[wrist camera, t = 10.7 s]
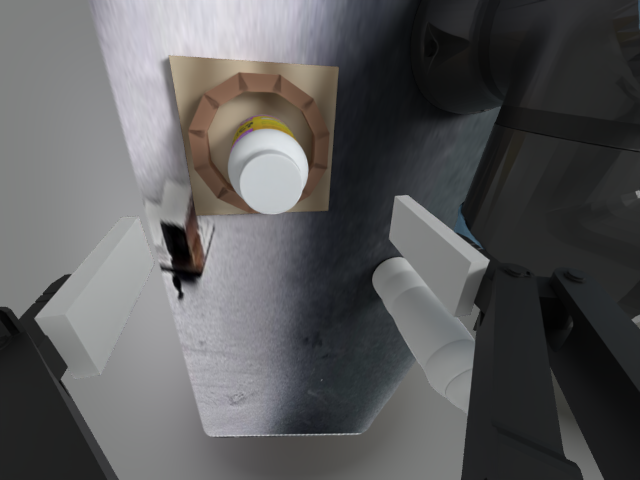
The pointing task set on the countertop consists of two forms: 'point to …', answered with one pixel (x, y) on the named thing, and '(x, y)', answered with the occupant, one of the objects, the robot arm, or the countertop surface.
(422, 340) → the water bottle
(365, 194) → the countertop surface
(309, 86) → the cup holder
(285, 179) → the supplement bottle
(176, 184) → the countertop surface
